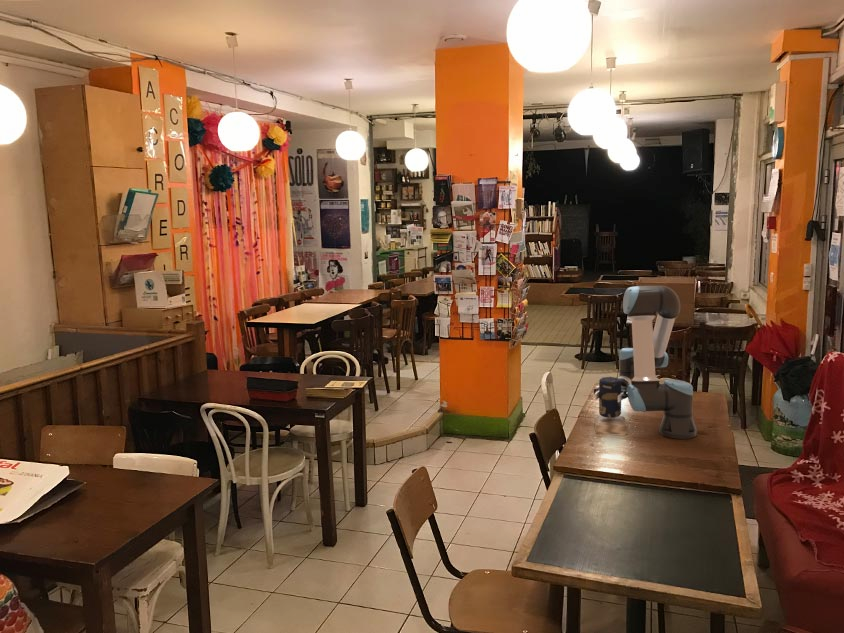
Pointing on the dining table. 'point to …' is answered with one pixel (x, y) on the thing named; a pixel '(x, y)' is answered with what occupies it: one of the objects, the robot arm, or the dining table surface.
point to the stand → (610, 425)
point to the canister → (609, 397)
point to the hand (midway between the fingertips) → (606, 397)
